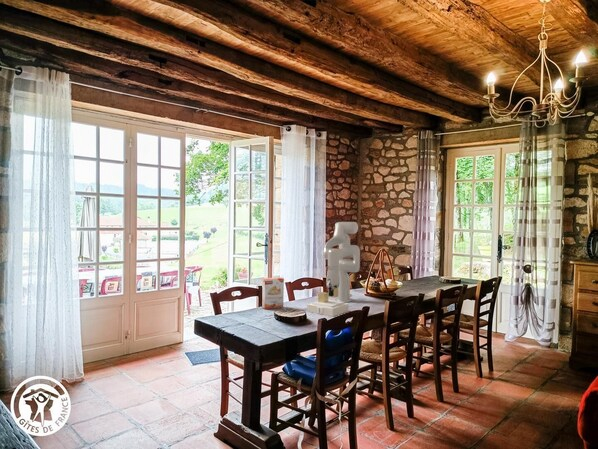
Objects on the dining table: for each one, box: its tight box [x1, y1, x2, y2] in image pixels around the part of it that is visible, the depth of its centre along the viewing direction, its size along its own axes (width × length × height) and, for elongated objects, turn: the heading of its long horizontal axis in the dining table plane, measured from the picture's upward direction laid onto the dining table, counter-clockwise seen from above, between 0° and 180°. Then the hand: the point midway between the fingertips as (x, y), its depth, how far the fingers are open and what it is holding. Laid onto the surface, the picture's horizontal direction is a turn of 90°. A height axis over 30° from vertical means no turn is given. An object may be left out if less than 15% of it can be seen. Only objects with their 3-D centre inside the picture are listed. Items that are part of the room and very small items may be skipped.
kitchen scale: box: [306, 299, 350, 317], centre depth 276 cm, size 21×20×6 cm
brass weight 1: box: [317, 291, 329, 303], centre depth 278 cm, size 5×5×6 cm
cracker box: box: [261, 276, 285, 310], centre depth 285 cm, size 14×6×21 cm, turn 112°
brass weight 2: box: [327, 286, 339, 299], centre depth 273 cm, size 5×5×6 cm
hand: (333, 295), depth 273 cm, fingers closed on brass weight 2, 5 cm apart
